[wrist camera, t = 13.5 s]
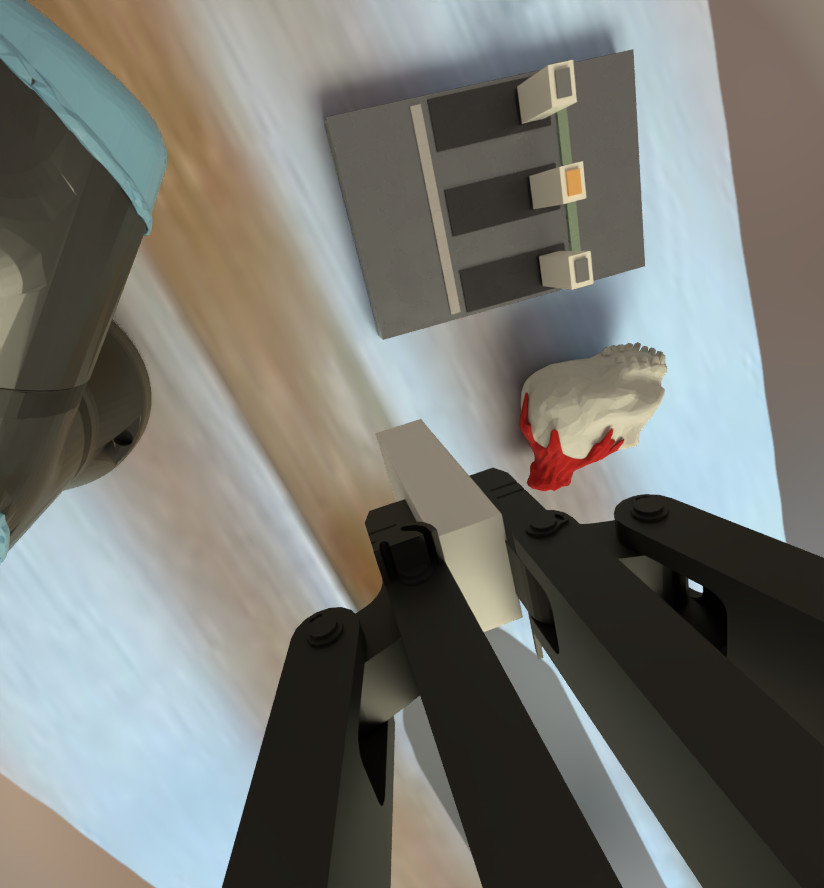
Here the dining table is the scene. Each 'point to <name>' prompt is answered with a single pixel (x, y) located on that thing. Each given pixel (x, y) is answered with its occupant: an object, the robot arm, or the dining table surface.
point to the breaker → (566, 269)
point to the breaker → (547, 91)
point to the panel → (486, 193)
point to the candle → (588, 409)
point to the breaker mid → (558, 186)
